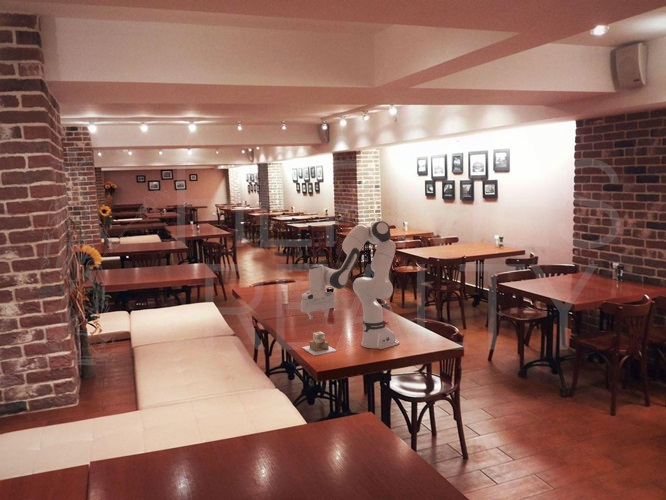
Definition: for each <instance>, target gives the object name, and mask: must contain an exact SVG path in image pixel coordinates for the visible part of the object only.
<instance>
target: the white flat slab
mask: <svg viewBox="0 0 666 500" xmlns="http://www.w3.org/2000/svg"><path fill="white" fill-rule="evenodd" d="M301 349H303V350H305V351H306V352H308V353H309V354H310V355H312V356H314V357H315V356H318V355H319V356H320V355H325V354H330V353H336V352H338V350H337V349H335V348H333V347H331V346H329V349H328V350H323V351H317V352H315V351H314V350H312V349H310V345H305V346H302V347H301Z"/></svg>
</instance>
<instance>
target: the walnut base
mask: <svg viewBox="0 0 666 500" xmlns="http://www.w3.org/2000/svg"><path fill="white" fill-rule="evenodd" d="M308 343H309V346H310V349H312V350H314V351H315V352H317V351H323V350H328V349H329V342H328V341H327V340H325V342H324V343H318V344H317V343H315V342H313V340H309V342H308Z"/></svg>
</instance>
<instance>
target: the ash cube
mask: <svg viewBox="0 0 666 500" xmlns="http://www.w3.org/2000/svg"><path fill="white" fill-rule="evenodd" d="M325 334H326V333H324V332H322V331H315V332H312V341H313V342H315V343H317V344H318V343H324V342H325V341H326V335H325Z"/></svg>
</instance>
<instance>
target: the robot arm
mask: <svg viewBox="0 0 666 500" xmlns="http://www.w3.org/2000/svg"><path fill="white" fill-rule="evenodd" d="M391 237H392V236H391V228H390V224H388V222H386V220H378V221H375V222H374V223H373V224H372V225H371V226H369V227H367V226H366V225H364V224H362V223H361V224H357V225H355V226H354V227H353V228H352V229H351V230H350V231H349V233H348V234H347V235H346V236H345V238H344V240H343V241H342V244H341V246H342V247H341V248H342V251H343V252H344V253H345V254H346V258H345V259H344V262H343V263H342V265H341V267H340V268H339V269H334V268H330V267H327V266H324V264H322V263H321V264H320V263H316V264H313V265H311V266H310V267H309V270H308V283H309V287H308V288H309V290H306V292H304V293H301V300H300V308H299V309H300V311H301V312H302V313H303V314H305V313H306V314H307V315H308V319H309V320H313V319H314V318H313V317H314V316H313V315H311V312H317V311H323V310H325V313H324V314H323V315H324V317H325V318H326V317H327V318H328V316H329V313H330V309H333V308H335V307H336V301H335V300H336V299H335V293H334V292H332V291H326V286H328V287H332V288H334V289H336V290H341V289H343V288H345V287H347V284H348V282H349V279H350V276H351V274H352V272H353V269H354V268H355V266H356V264H357V262H358V260H359V257H360V252H361V250H362V248H363V247H364V246H365V244H366V243H367V244H370V245H372V246H376V250H375V252H374V256H373V258H372V261H371V263H370V269H371V271H372V272H374V274H373V275H374V276H373V277H367V276H363V277H362V276H361V277H357V278H355V279H354V281H353V283H352V290H353V292H354V294H356V295H357V297H358V298H359V300H360V303H361V306H362V315H363V317H362V318H363V320H362V339H361V344H360V345H361V347H363V348H368V349H379V350H382V349H387V348H390V347H393V346H397V345H400V340H398V339H396V334H395V332H394V331H393V330H391V329H390V328H388V327H387V326H388V325H389V323H390V321H387V320H384V319H383V318H384V317H383V312H384V311H383V307H382V305H381V304H380V303H379V302H378V301H377V299H382V300H383V299H389V298H390V297H392V295H393V292H394V287H393V284H392V282H391V280H390V274H389V273H390V270H391V266H392V263H393V261H394V257H395V253H396V248H397V246H396V243H395V242H394V241H393V240H391ZM386 325H387V326H386Z"/></svg>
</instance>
